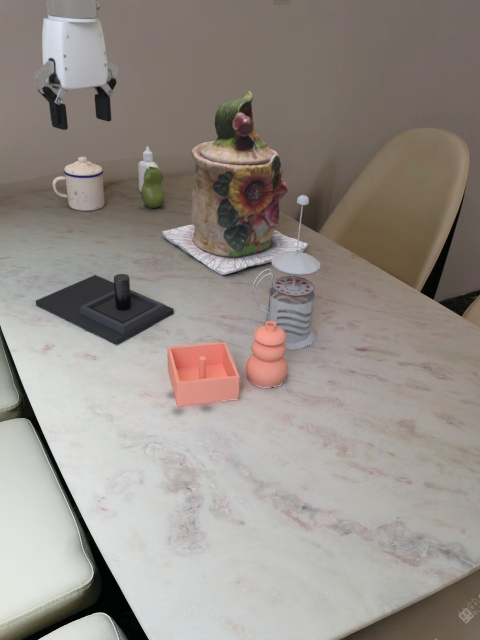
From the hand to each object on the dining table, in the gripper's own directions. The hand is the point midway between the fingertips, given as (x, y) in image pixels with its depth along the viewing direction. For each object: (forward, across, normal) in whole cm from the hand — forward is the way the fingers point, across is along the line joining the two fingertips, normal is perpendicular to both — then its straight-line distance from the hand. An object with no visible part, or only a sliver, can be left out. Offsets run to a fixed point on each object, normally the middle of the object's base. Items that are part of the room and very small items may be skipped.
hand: (82, 123), depth 103 cm
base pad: (+28, +9, +12) cm, 32 cm away
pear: (+28, -35, -17) cm, 48 cm away
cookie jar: (+28, -30, +12) cm, 43 cm away
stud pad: (+27, +9, +17) cm, 33 cm away
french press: (+28, -5, +41) cm, 50 cm away
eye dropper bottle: (+28, -42, -25) cm, 57 cm away
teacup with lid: (+28, -23, -30) cm, 47 cm away
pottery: (+28, +12, +42) cm, 52 cm away
